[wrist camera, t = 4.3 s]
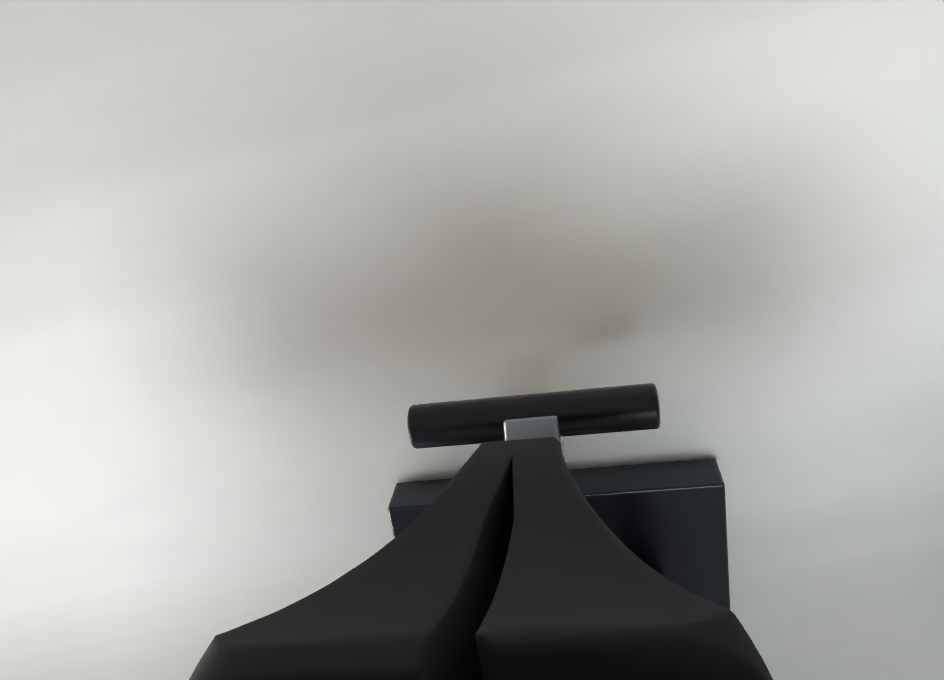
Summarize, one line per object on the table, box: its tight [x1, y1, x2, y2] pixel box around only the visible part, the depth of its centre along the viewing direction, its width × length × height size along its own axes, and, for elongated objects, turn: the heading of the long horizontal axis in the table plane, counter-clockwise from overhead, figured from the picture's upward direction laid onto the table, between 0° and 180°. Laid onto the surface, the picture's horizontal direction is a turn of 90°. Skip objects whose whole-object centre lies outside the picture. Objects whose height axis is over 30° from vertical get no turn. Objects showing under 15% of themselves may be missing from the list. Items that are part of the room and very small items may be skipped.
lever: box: [407, 383, 660, 460], centre depth 16 cm, size 11×5×2 cm, turn 9°
